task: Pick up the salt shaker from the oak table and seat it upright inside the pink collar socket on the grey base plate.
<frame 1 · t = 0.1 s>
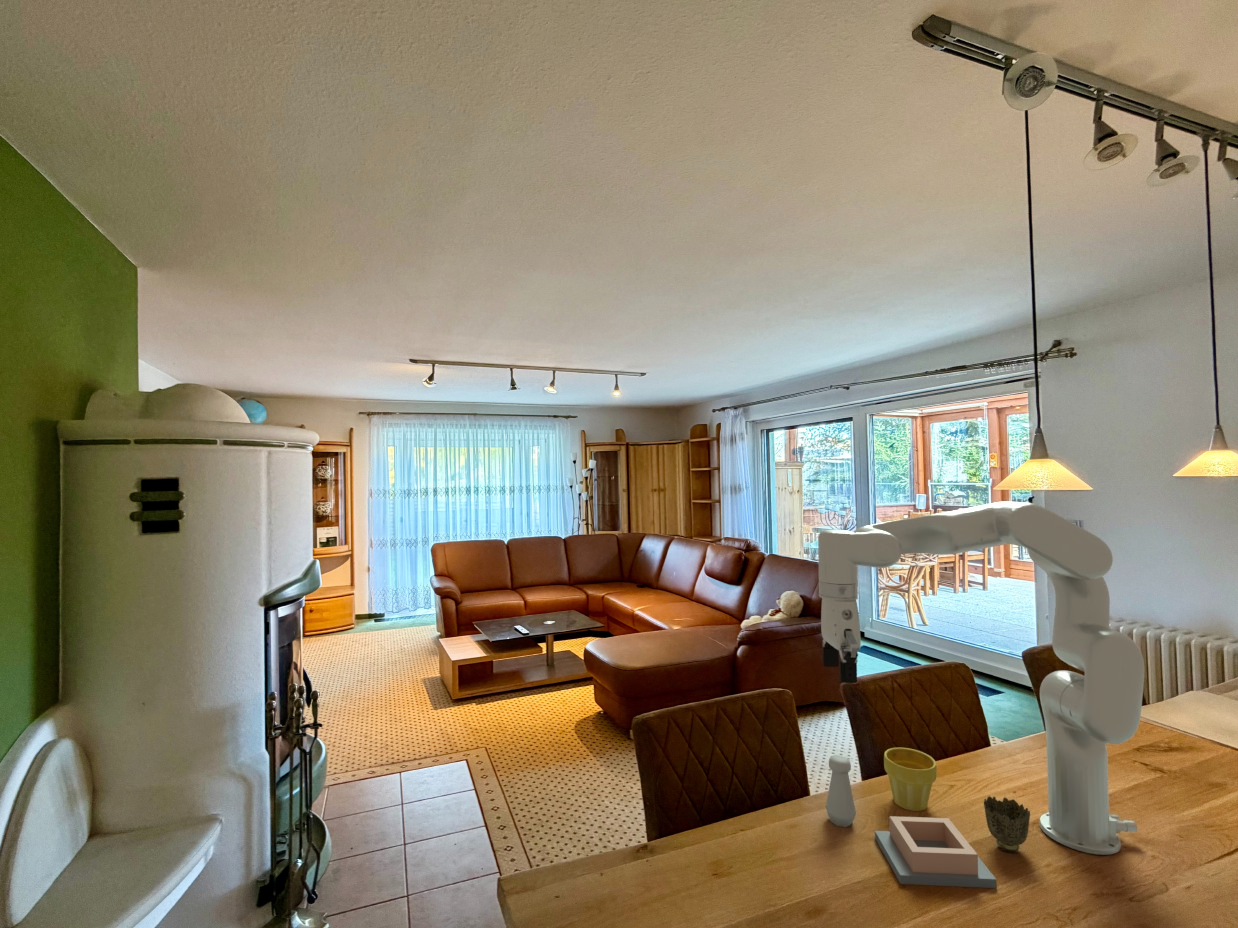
hand: (839, 673, 121), 31 cm above the table, tool pointing down, fingers open, 9 cm apart
cup: (1007, 849, 113), on the table
plant pot: (910, 803, 129), on the table
salt shaker: (841, 822, 122), on the table
socket base: (931, 861, 109), on the table
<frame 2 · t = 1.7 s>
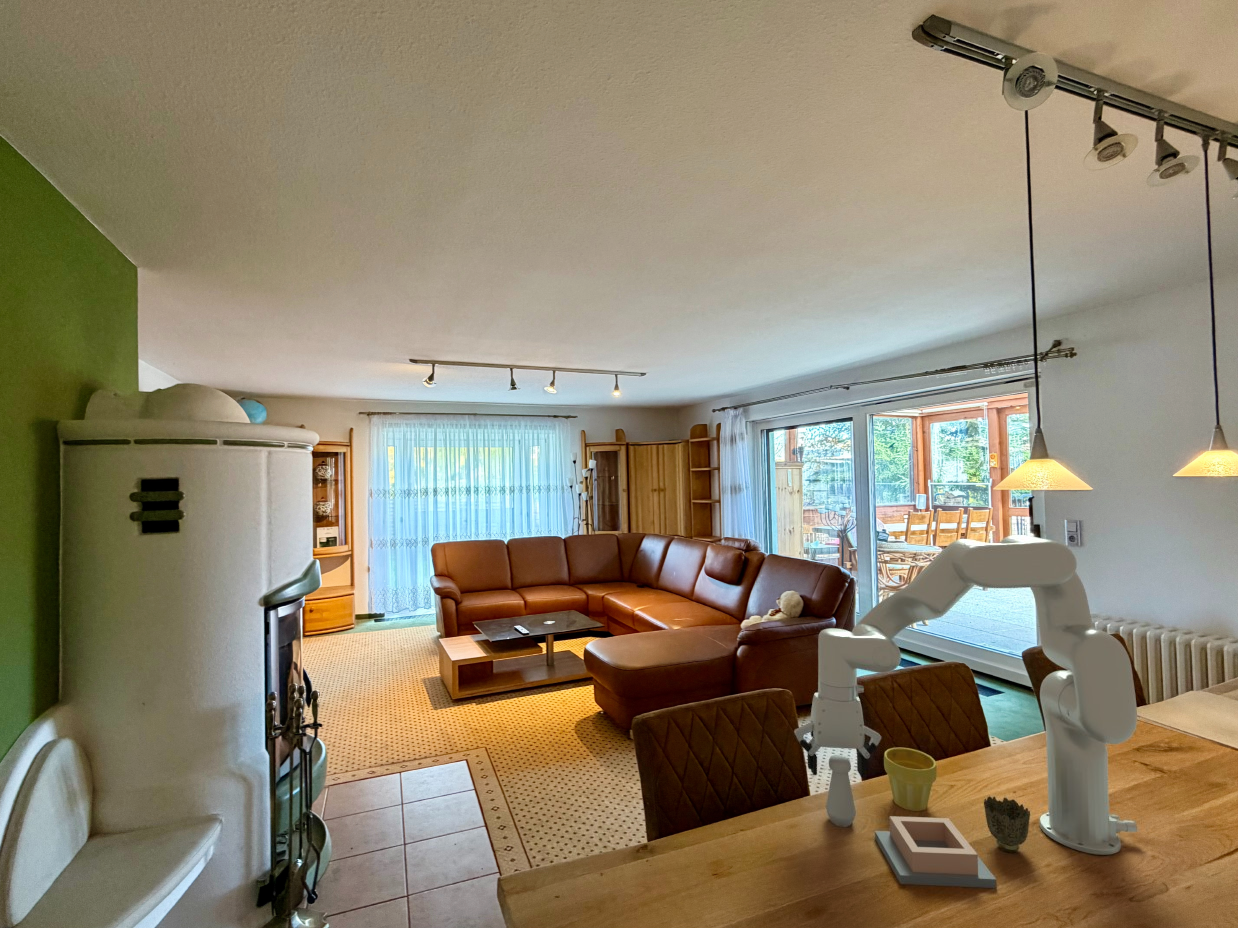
hand: (837, 773, 123), 10 cm above the table, tool pointing down, fingers open, 9 cm apart
nothing on the table moved.
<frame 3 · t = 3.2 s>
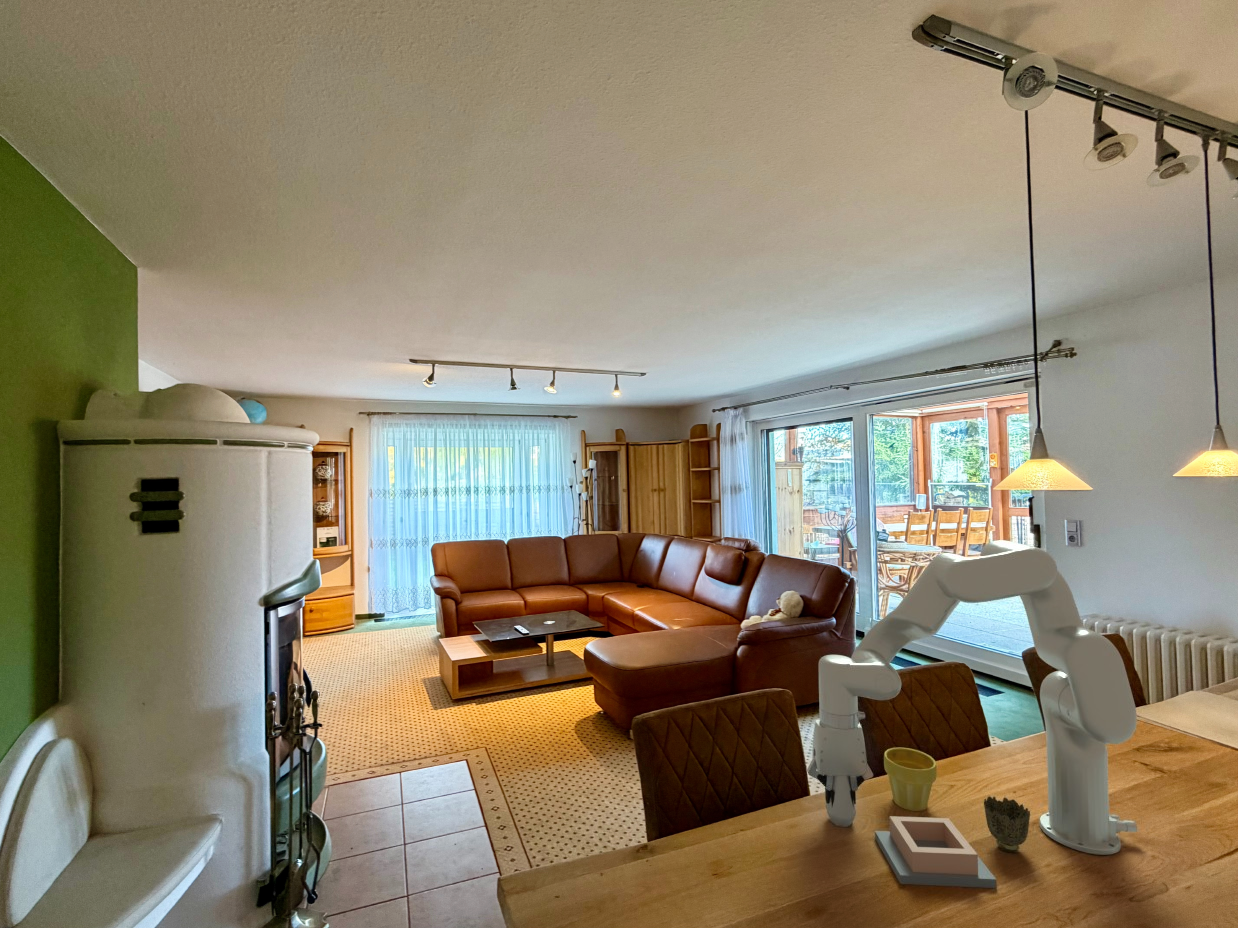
hand: (840, 805, 122), 3 cm above the table, tool pointing down, fingers closed on salt shaker, 3 cm apart
salt shaker: (841, 822, 122), on the table, touching gripper
everything else where it was.
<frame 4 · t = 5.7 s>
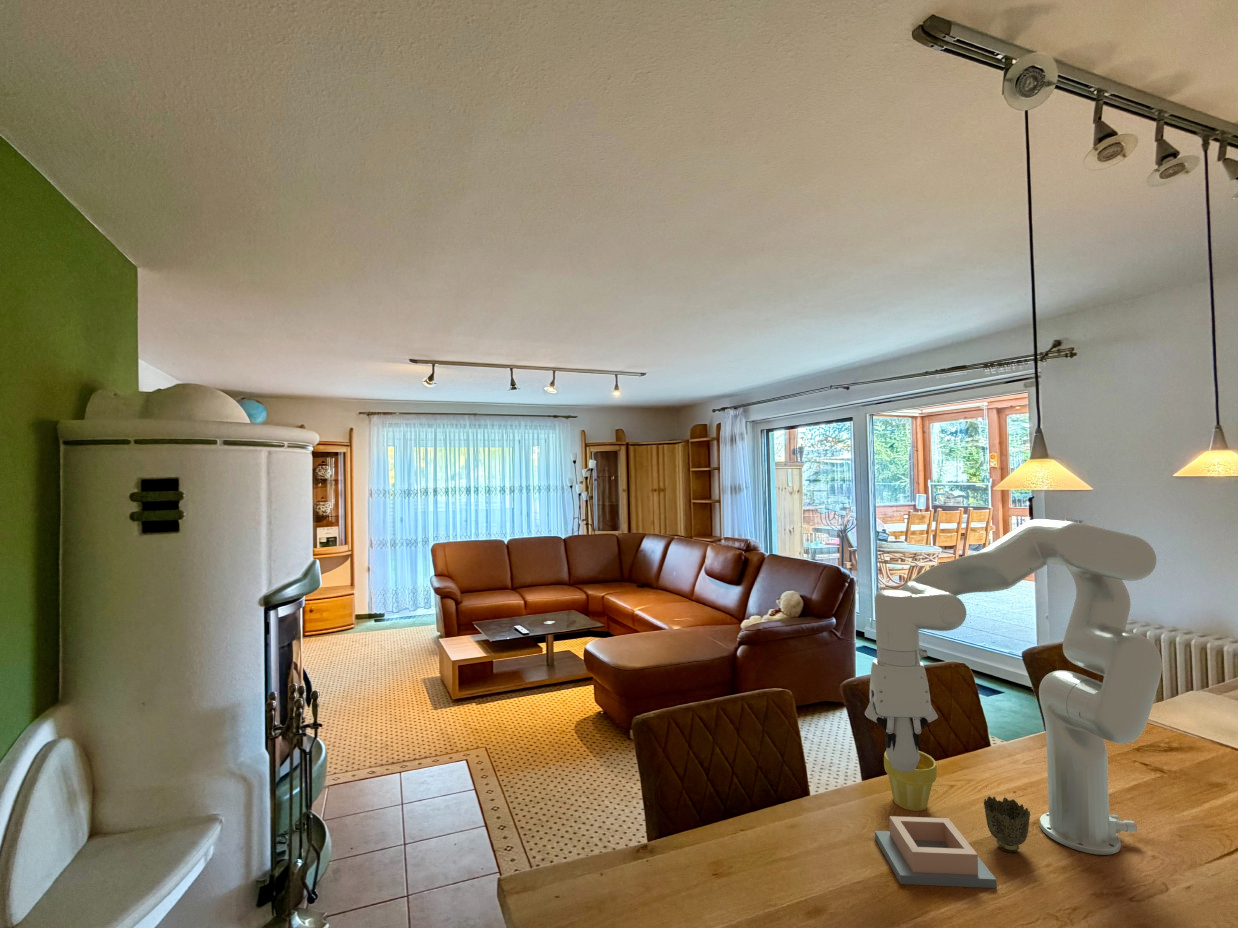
hand: (902, 750, 114), 19 cm above the table, tool pointing down, fingers closed on salt shaker, 3 cm apart
salt shaker: (903, 768, 113), point 15 cm above the table, touching gripper
everything else where it was.
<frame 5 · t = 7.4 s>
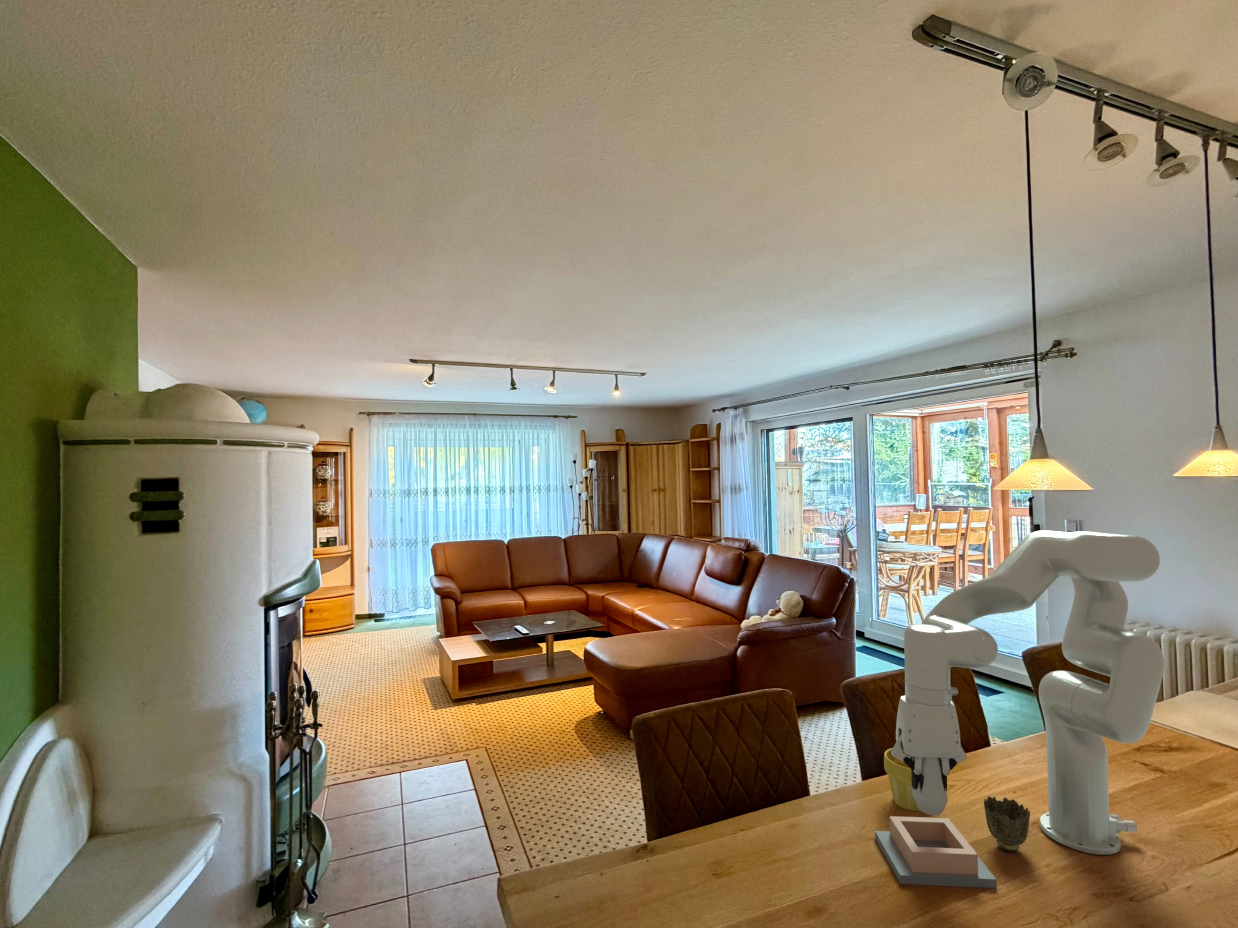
hand: (929, 792, 109), 13 cm above the table, tool pointing down, fingers closed on salt shaker, 3 cm apart
salt shaker: (930, 810, 109), point 9 cm above the table, touching gripper
everything else where it was.
when the fingers open (7 cm above the table, at t = 8.7 s): salt shaker drops 2 cm, resting on socket base.
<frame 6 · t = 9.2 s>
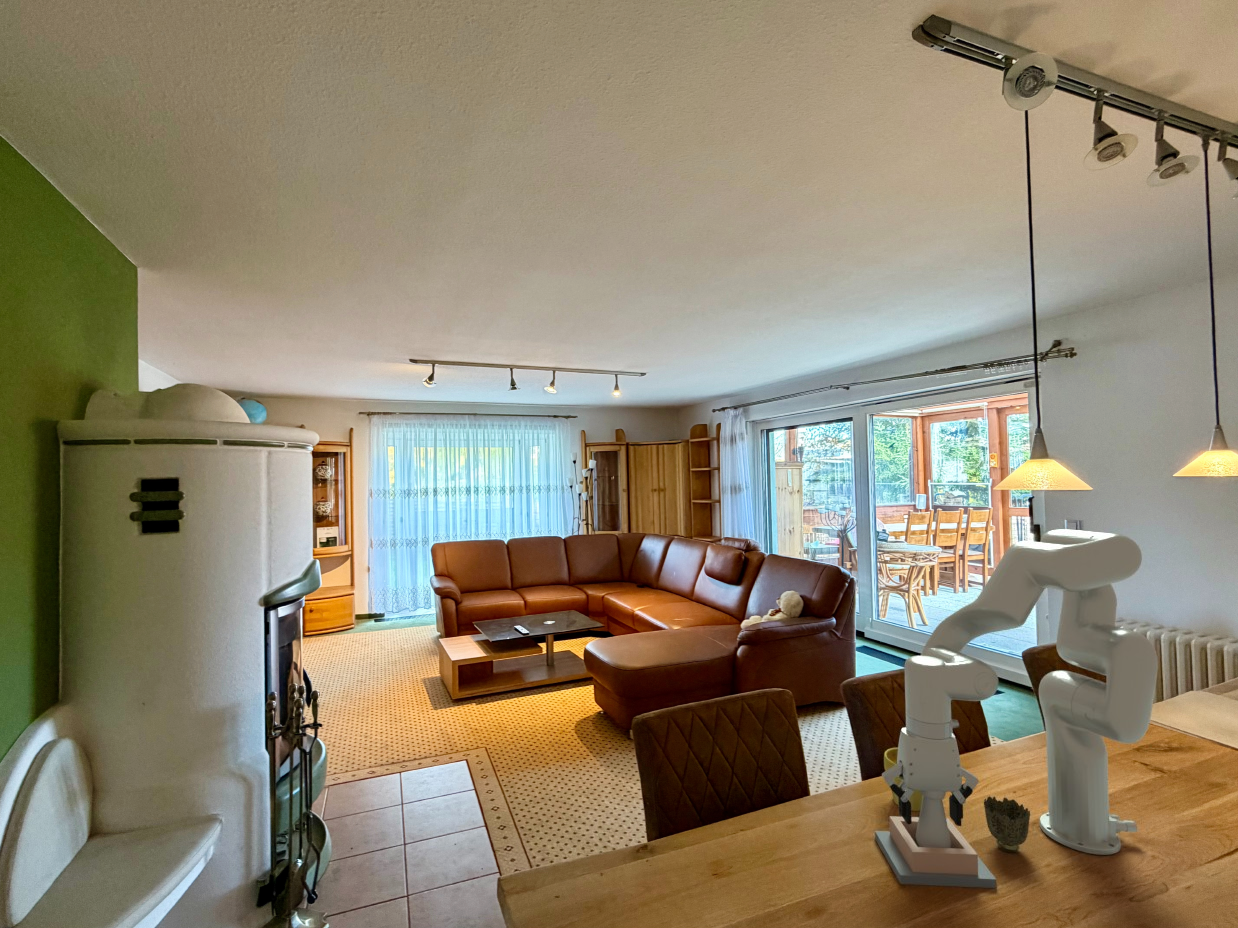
hand: (930, 820, 109), 8 cm above the table, tool pointing down, fingers open, 8 cm apart
salt shaker: (933, 854, 109), point 1 cm above the table, touching socket base
everything else where it was.
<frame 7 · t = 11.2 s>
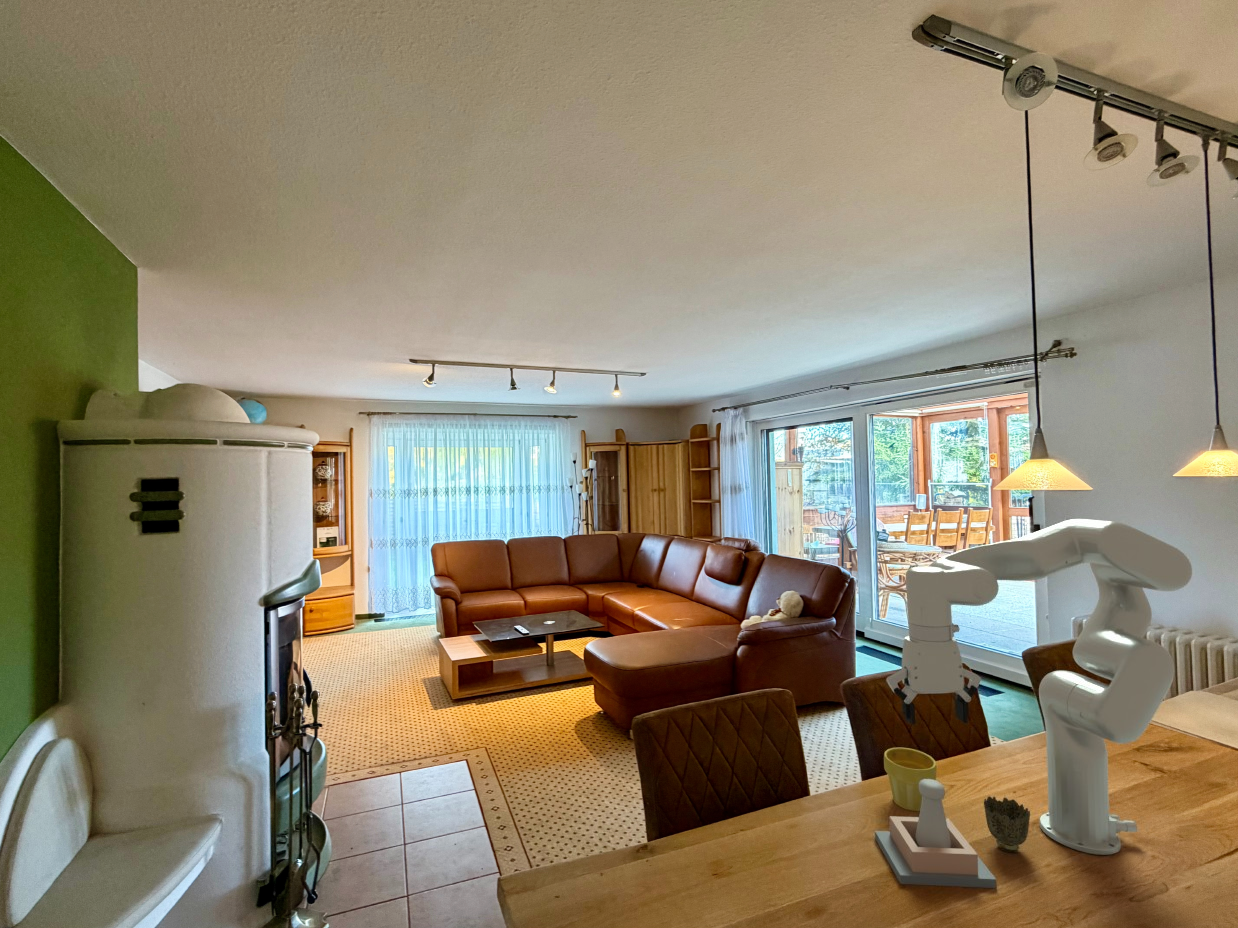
hand: (935, 720, 114), 24 cm above the table, tool pointing down, fingers open, 9 cm apart
nothing on the table moved.
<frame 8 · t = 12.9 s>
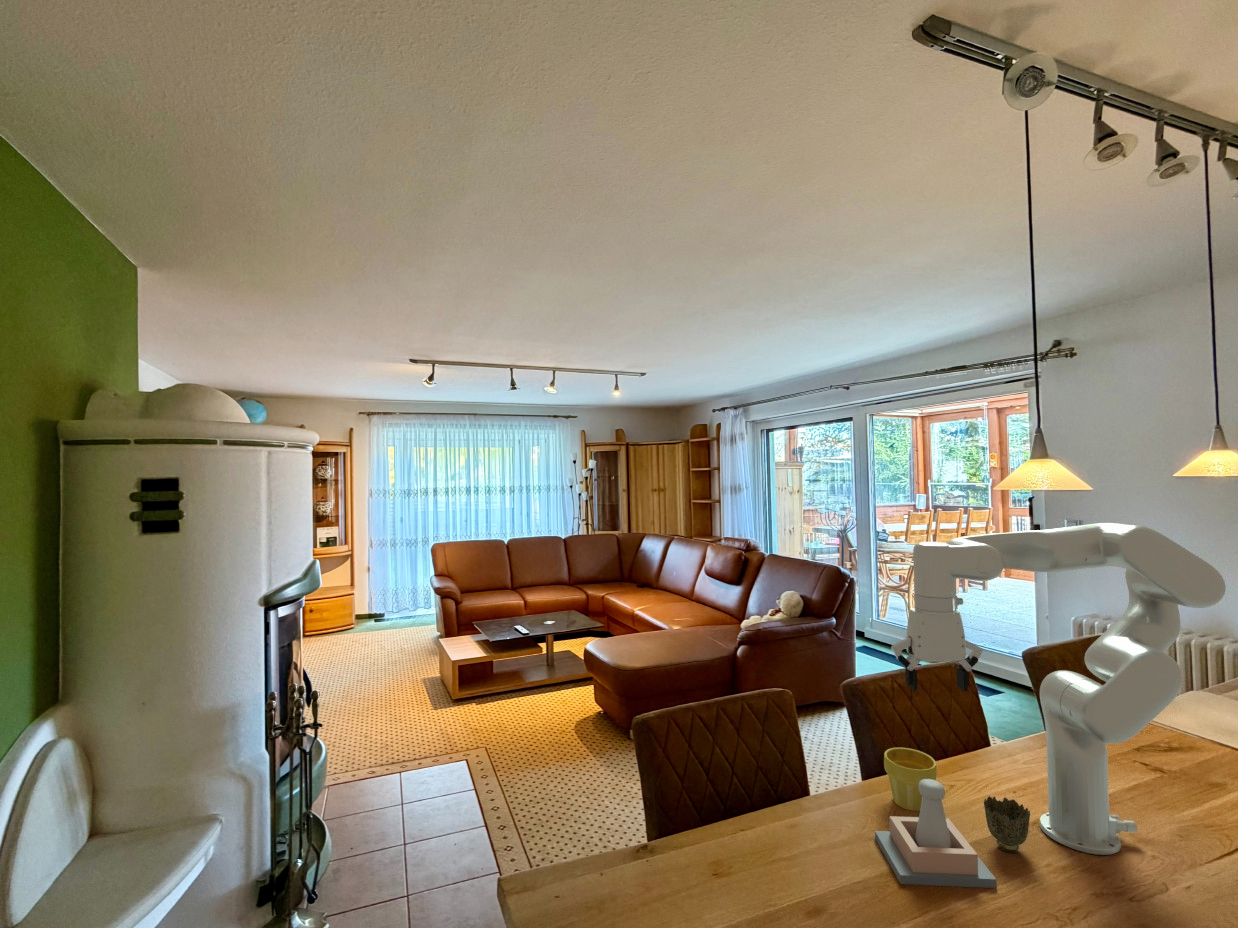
hand: (937, 688, 119), 28 cm above the table, tool pointing down, fingers open, 9 cm apart
nothing on the table moved.
at the end: salt shaker 0.3 cm off-centre on the socket base, point 1.3 cm above the socket base's base; salt shaker tilted 0°; the gripper is holding nothing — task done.
